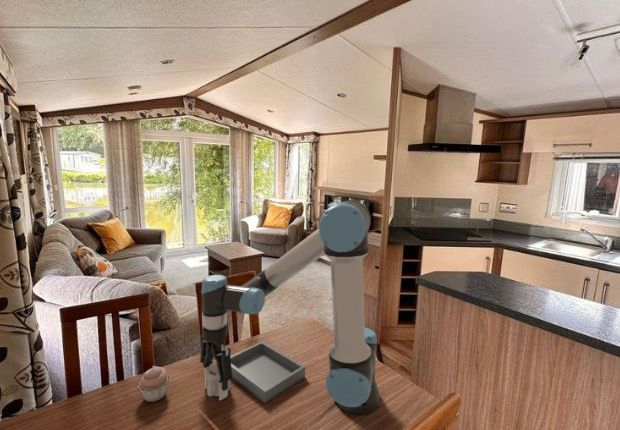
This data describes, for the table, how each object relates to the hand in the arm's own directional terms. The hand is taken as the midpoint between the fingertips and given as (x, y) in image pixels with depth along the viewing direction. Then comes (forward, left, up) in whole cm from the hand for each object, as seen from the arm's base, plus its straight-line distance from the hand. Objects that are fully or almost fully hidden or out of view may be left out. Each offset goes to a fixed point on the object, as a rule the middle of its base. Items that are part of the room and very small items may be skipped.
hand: (216, 391), depth 101 cm
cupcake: (+13, +14, -1) cm, 19 cm away
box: (-3, -17, -1) cm, 17 cm away
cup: (-1, 0, -1) cm, 1 cm away
